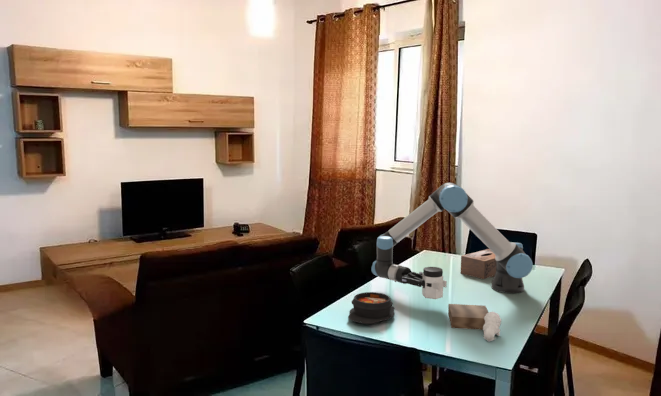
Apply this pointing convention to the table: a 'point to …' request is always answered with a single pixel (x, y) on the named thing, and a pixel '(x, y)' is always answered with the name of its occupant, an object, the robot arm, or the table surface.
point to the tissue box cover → (479, 264)
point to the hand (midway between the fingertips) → (442, 285)
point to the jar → (432, 276)
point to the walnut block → (467, 316)
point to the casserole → (371, 308)
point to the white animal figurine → (491, 326)
